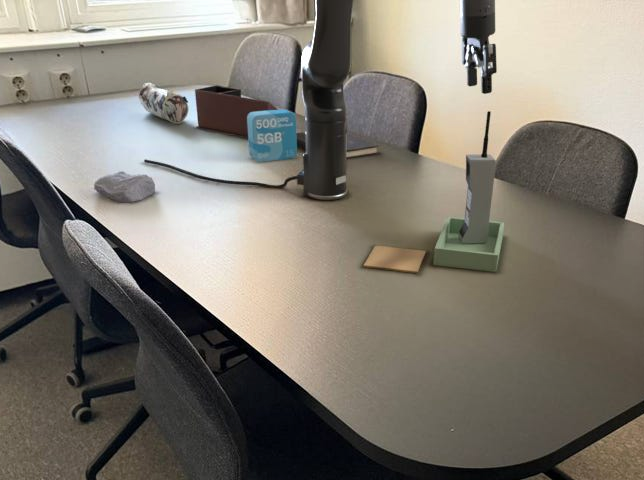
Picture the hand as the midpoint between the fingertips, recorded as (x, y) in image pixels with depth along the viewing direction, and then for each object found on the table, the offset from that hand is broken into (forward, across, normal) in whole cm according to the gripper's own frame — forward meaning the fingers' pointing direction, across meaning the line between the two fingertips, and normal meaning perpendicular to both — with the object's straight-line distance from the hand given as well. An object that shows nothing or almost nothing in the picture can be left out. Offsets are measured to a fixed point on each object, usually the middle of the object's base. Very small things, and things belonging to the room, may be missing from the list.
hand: (479, 89), depth 161 cm
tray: (+20, +39, -19) cm, 48 cm away
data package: (+16, -32, -46) cm, 59 cm away
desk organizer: (+16, -62, -51) cm, 81 cm away
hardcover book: (+19, -40, -29) cm, 52 cm away
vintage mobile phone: (+20, +35, -17) cm, 44 cm away
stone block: (+11, -8, -84) cm, 85 cm away
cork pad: (+18, +40, -34) cm, 56 cm away
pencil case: (+12, -85, -73) cm, 113 cm away
